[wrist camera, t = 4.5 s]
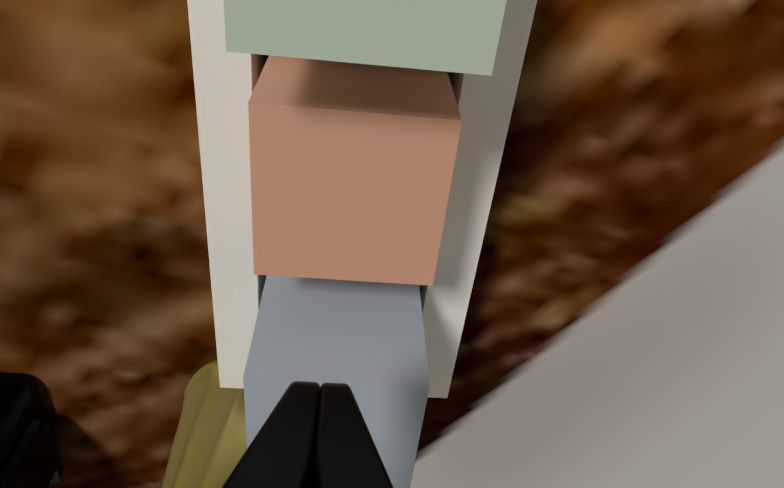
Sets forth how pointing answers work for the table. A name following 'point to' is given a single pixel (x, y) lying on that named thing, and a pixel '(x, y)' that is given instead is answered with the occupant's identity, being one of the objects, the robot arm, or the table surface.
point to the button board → (233, 187)
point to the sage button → (371, 31)
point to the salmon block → (350, 169)
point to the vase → (207, 433)
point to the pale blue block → (344, 357)
